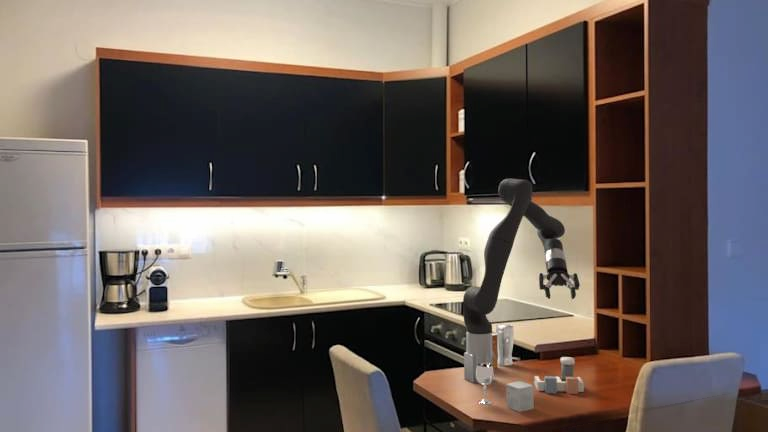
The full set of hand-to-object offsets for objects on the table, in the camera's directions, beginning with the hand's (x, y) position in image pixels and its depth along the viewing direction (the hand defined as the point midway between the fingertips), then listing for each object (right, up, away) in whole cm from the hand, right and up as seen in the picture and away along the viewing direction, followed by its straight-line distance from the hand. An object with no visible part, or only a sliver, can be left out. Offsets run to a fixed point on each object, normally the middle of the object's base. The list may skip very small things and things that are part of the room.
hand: (561, 297), depth 223 cm
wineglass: (-32, -30, -28) cm, 52 cm away
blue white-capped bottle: (-2, -29, -13) cm, 32 cm away
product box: (-22, -30, -33) cm, 50 cm away
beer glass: (-17, -29, +17) cm, 38 cm away
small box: (-26, -29, +12) cm, 41 cm away
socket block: (-5, -29, -14) cm, 33 cm away
